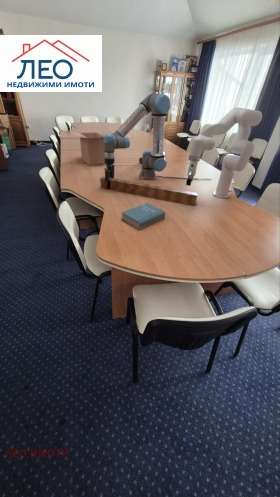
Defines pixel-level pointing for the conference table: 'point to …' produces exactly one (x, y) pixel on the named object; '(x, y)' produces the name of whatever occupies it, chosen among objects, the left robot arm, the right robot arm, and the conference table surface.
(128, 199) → the conference table surface
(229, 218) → the conference table surface
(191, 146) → the right robot arm
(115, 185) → the bar
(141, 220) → the book
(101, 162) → the box
